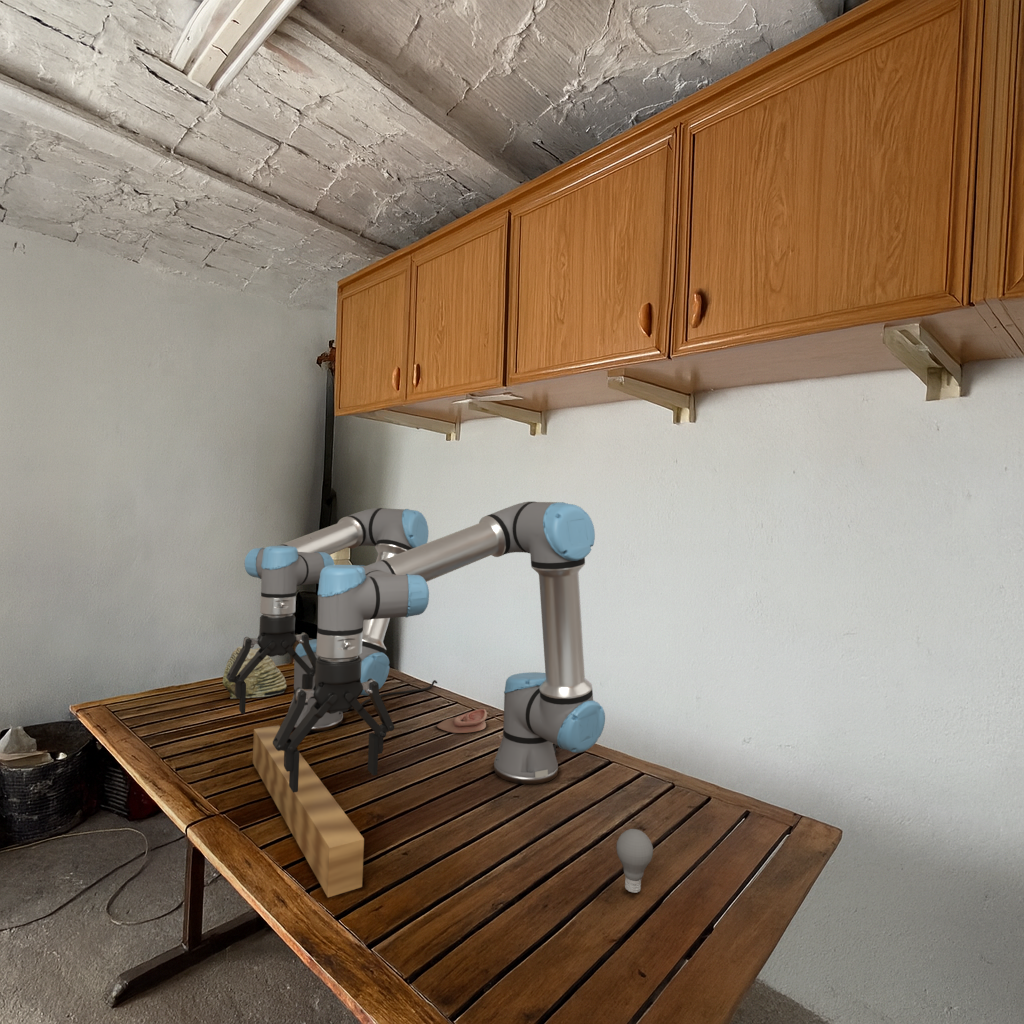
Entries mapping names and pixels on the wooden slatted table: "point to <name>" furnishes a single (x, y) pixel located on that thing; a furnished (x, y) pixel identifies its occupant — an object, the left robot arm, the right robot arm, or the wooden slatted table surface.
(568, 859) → the wooden slatted table surface
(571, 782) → the wooden slatted table surface
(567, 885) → the wooden slatted table surface
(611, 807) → the wooden slatted table surface
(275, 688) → the fossil
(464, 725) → the anatomical model
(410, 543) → the left robot arm
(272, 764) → the post
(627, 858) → the light bulb
